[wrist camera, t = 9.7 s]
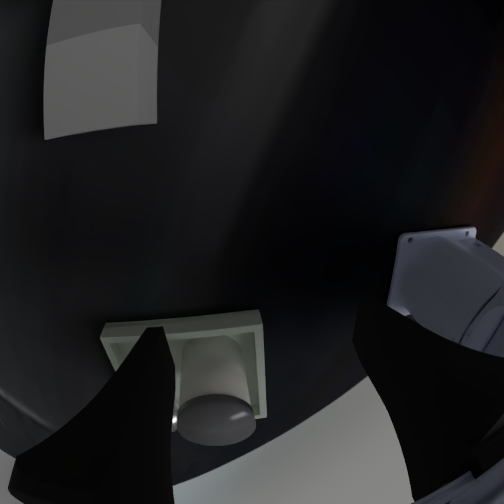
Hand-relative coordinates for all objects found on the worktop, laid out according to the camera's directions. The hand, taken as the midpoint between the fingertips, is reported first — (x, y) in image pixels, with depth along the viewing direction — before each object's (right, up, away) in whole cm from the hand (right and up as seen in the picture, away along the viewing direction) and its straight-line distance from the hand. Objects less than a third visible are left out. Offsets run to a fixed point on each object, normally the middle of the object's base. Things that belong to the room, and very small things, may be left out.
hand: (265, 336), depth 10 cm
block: (-8, +19, +1) cm, 21 cm away
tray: (-6, -7, +14) cm, 16 cm away
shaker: (-4, -5, +12) cm, 14 cm away
